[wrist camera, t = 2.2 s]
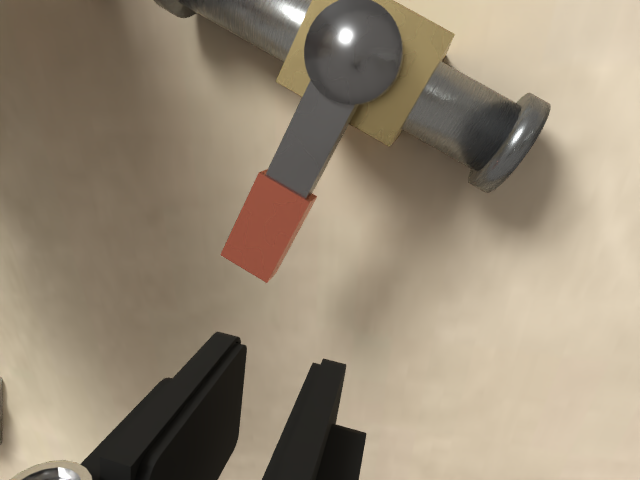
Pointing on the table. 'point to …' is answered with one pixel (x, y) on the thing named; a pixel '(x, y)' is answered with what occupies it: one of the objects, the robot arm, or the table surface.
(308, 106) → the valve lever
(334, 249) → the table surface
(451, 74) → the pipe and valve body
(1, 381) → the packaged product
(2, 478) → the table surface
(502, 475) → the table surface
